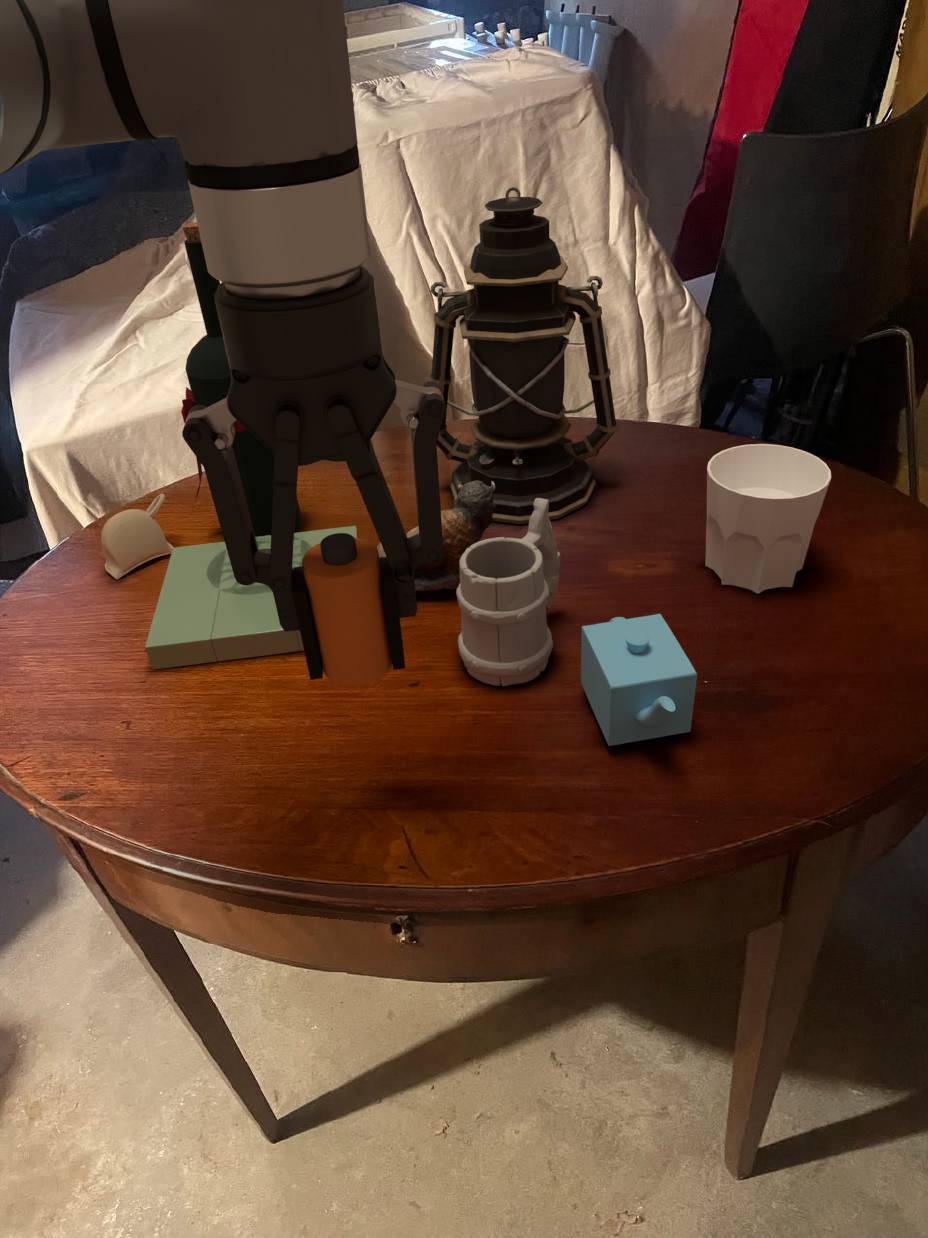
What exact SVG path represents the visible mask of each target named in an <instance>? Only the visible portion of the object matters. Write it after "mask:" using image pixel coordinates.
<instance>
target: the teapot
mask: <svg viewBox="0 0 928 1238" xmlns="http://www.w3.org/2000/svg"><path fill="white" fill-rule="evenodd" d="M580 641H581V644H580V647H581V649H580V658H581V659H580V684H581V687H582V688H583V691H584V693H585V696H586V697H587V700H588V703H589V705H590V707H591V709H592V712H593V714H594V716H595V718H596V720H597V723H598V725H599V728H600V730H601V733H602V734H603V737H604V740H605V741H606V744H607V746H608V747H610V746H617V745H622V744H628V743H633V742H640V741H646V740H651V739H656V738H662V737H669V736H675V735H680V734H685V733H690V732H691V730H692V720H693V714H694V704H695V697H696V689H697V680H698V673H697V671H696V670H695V668H694V666H693V664H692V663H691V661H690V659H689V658H688V656H687V655H686V653H685V651H684V649H683V648H682V646H681V644H680V643H679V641H678V640H677V638H676V636H675V635H674V633H673V632H672V630H671V628H670V626H669V625H668V623H667V622H666V620H665V619H664V617H663V616H662V614H661V613H656V614H650V615H644V616H638V617H637V616H636V617H631V618H626V617H624V616H615V617H613V618H611V619H610V620H609V621H605V622H601V623H595V624H588V625H582V626H581V640H580Z"/></svg>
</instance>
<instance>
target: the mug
mask: <svg viewBox="0 0 928 1238" xmlns="http://www.w3.org/2000/svg"><path fill="white" fill-rule="evenodd" d="M533 505H534V511H533V513H532V516H531V517H530V520H529V523H528V529H527V533H526V534H525V535H524V537H521V538H517V537H504V536H498V537H492V538H491V537H490V538H487V539H483V540H481V541H479V542H477V543H475V544H473V545H471V546H470V547H469V548H467V549H466V551H465V553H464V554H463V555H462V556H461V558H460V584H459V587H458V588H456V591H455V594H456V598H457V603H458V606H459V609H460V613H461V616H460V617H461V620H460V621H461V623H460V624H461V625H460V627H461V628H460V629H461V630H460V632H459V635H458V637H457V647H458V653H459V656H460V658H461V660H462V661H463V665H464V668H466V671H467V673H468V674H469V675H470V676H471V677H473V678H474V679H476V680H478V681H480V682H482V683H485V684H487V685H491V686H496V687H497V686H498V687H500V686H501V687H507V686H511V685H517V684H525V683H527V682H530V681H532V680H534V679H536V678H537V677H538V676H539V675H541V672H544V671H545V669H546V668H547V665H548V663H549V662H548V661H549V658H550V656H551V653H552V650H553V647H554V641H553V635H552V632H551V630H550V628H549V626H548V622H547V611H548V610H551V609H552V606H553V602H554V597H555V594H557V593H558V591H559V590H558V589H559V583H560V572H559V569H560V567H561V553H560V552H559V551H558V547H557V545H558V541H557V540H556V537H555V533H554V530H553V526H552V522H551V520H549V514H548V508H549V501H548V500H547V499H542V498H536V499H535V501H534V504H533Z"/></svg>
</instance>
